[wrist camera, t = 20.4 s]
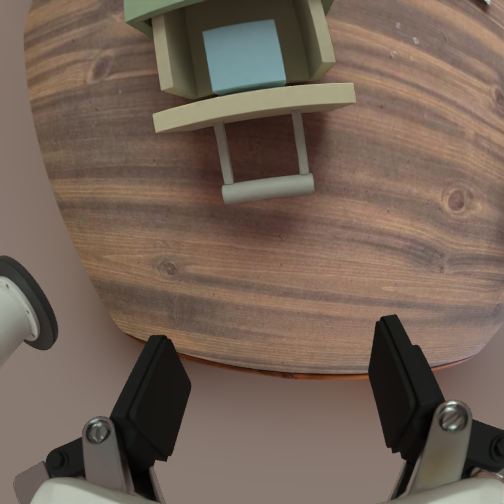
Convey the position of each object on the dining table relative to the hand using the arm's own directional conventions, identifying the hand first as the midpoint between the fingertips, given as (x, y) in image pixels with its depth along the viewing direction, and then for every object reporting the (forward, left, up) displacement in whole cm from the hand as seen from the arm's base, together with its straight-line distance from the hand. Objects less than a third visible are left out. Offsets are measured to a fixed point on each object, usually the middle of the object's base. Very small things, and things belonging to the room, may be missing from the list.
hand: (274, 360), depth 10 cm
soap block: (0, +13, -14) cm, 19 cm away
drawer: (0, +13, -15) cm, 20 cm away
